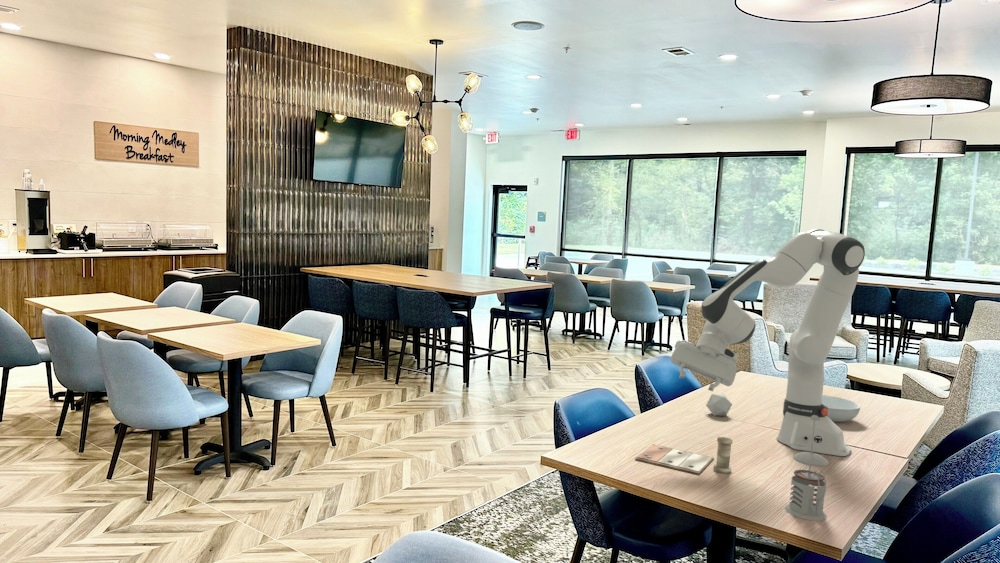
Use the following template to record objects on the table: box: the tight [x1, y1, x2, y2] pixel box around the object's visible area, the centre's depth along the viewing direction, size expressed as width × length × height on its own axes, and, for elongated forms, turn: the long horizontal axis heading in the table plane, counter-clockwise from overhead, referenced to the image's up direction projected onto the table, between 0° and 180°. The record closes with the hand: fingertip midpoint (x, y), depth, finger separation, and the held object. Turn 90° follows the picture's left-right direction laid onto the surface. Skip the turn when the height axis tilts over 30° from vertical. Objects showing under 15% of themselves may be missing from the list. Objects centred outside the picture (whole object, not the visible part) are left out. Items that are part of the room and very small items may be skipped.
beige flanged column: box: [712, 436, 733, 475], centre depth 200 cm, size 5×5×9 cm
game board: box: [634, 444, 715, 476], centre depth 207 cm, size 19×17×1 cm
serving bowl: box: [822, 394, 861, 423], centre depth 266 cm, size 21×21×7 cm
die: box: [705, 393, 733, 417], centre depth 262 cm, size 8×9×10 cm
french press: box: [784, 415, 829, 522], centre depth 171 cm, size 10×12×25 cm
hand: (696, 383), depth 214 cm, fingers open, 8 cm apart
